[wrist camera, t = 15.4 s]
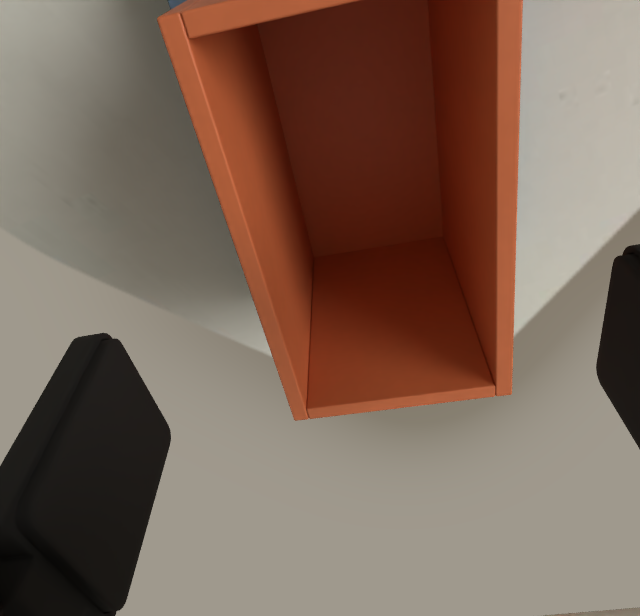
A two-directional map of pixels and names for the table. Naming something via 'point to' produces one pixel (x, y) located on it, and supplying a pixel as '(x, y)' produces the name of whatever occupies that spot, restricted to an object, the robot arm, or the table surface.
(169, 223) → the table surface
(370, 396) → the inner bin
